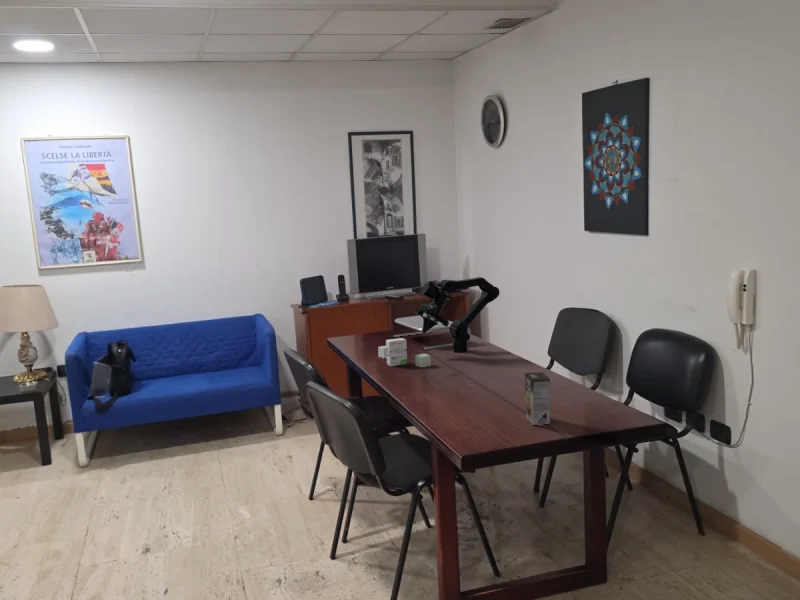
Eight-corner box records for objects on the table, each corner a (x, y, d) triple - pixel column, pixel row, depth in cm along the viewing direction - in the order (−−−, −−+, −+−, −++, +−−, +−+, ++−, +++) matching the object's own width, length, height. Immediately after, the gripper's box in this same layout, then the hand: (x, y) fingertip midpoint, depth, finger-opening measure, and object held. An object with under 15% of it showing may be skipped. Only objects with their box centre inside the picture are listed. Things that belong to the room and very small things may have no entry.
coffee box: (524, 417, 243) (524, 372, 241) (543, 416, 244) (542, 371, 241) (532, 426, 234) (531, 379, 232) (550, 425, 235) (550, 378, 232)
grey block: (387, 355, 342) (386, 345, 341) (392, 357, 338) (392, 347, 337) (378, 356, 339) (378, 346, 338) (384, 358, 335) (383, 348, 334)
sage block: (424, 364, 322) (424, 353, 322) (430, 366, 318) (430, 355, 317) (415, 365, 320) (415, 355, 319) (422, 367, 316) (421, 357, 315)
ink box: (403, 362, 327) (402, 337, 325) (407, 364, 323) (406, 339, 321) (386, 364, 324) (385, 339, 322) (390, 366, 320) (389, 341, 318)
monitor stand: (392, 338, 382) (391, 318, 380) (437, 331, 394) (436, 313, 392) (423, 351, 349) (423, 329, 347) (471, 343, 361) (471, 323, 359)
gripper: (415, 292, 336) (400, 320, 334) (443, 302, 323) (428, 332, 321) (427, 301, 344) (413, 329, 342) (455, 311, 331) (440, 341, 329)
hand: (423, 332), depth 333 cm, fingers closed
